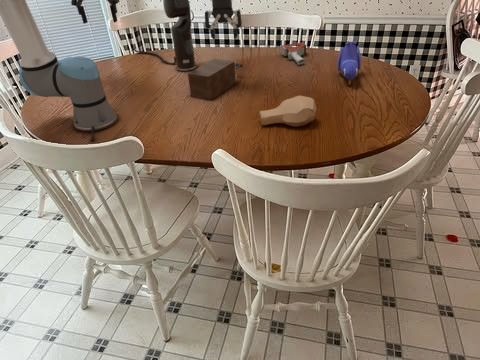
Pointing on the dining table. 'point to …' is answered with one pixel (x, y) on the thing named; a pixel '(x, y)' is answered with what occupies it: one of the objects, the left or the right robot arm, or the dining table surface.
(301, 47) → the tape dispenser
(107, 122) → the left robot arm
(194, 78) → the dark brown box
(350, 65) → the toy
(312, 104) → the squash
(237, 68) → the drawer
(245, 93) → the dining table surface
